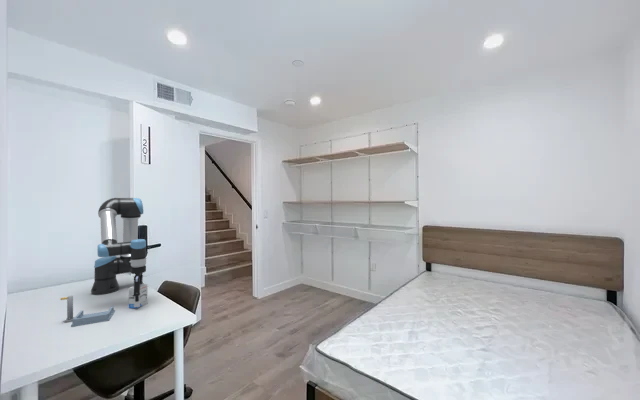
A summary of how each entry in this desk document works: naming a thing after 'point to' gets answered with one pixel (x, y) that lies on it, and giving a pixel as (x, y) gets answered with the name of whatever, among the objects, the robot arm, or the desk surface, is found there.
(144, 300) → the ink box
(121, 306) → the desk surface
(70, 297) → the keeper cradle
